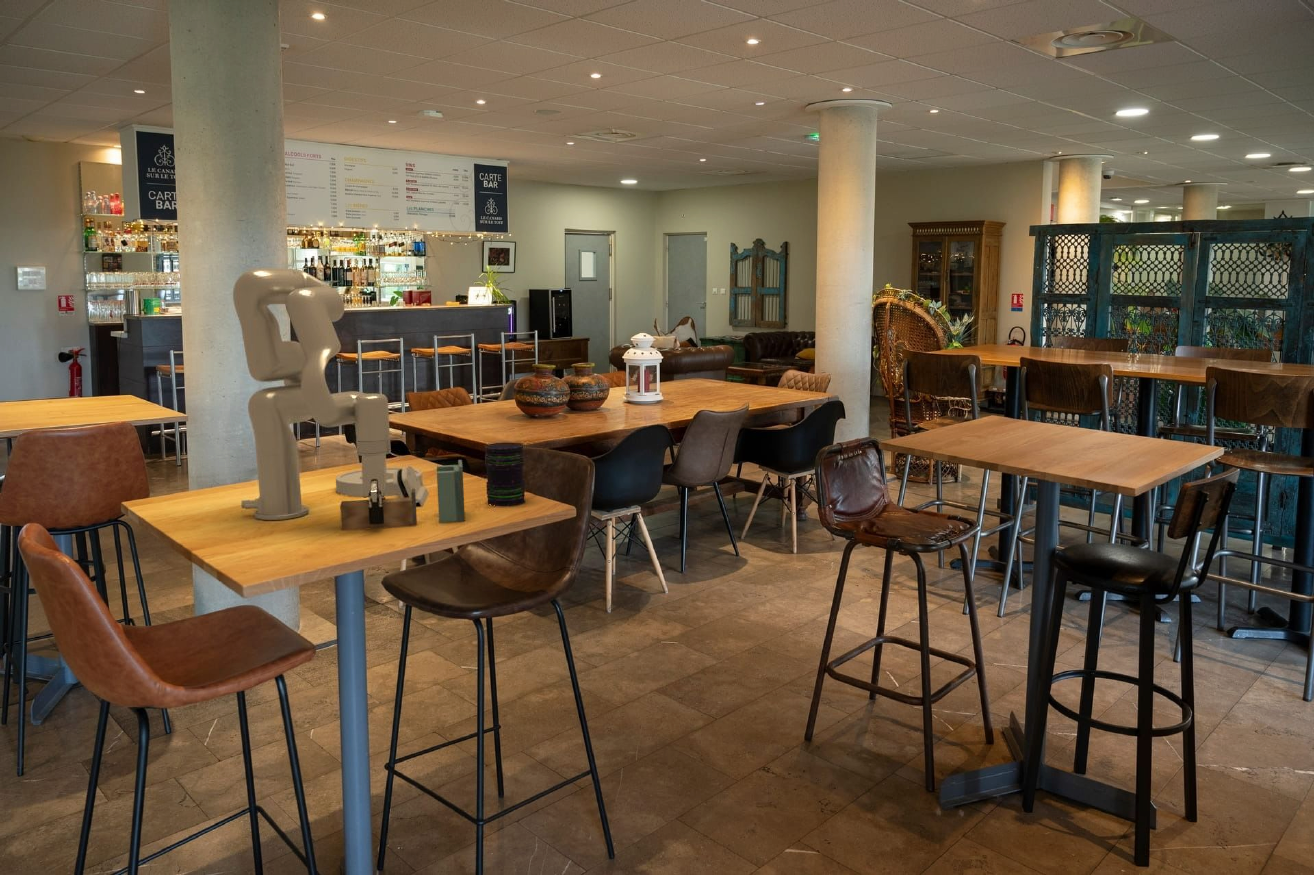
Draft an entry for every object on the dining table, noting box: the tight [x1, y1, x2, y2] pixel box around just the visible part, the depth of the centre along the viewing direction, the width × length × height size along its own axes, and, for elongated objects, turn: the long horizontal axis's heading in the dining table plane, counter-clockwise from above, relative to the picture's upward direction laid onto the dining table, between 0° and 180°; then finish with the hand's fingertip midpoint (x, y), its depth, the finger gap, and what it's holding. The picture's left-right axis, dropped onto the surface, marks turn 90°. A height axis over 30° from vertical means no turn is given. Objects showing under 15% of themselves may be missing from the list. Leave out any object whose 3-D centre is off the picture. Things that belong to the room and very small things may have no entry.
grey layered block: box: [393, 465, 430, 508], centre depth 255 cm, size 17×5×10 cm, turn 8°
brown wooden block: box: [339, 489, 418, 531], centre depth 228 cm, size 17×4×8 cm, turn 103°
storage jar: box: [484, 442, 526, 507], centre depth 250 cm, size 10×10×15 cm
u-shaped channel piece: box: [436, 459, 466, 524], centre depth 235 cm, size 6×10×13 cm, turn 13°
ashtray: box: [335, 466, 424, 498], centre depth 271 cm, size 23×23×4 cm
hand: (378, 519), depth 228 cm, fingers open, 9 cm apart
